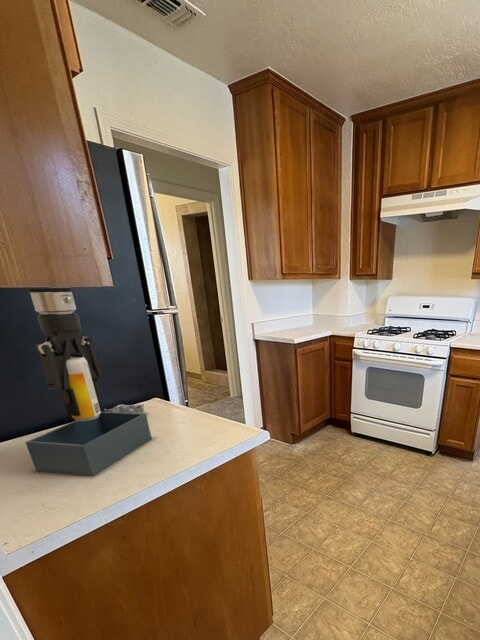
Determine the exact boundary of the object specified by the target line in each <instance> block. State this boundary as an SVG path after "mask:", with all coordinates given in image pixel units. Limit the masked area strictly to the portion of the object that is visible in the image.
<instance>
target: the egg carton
mask: <svg viewBox="0 0 480 640" xmlns="http://www.w3.org/2000/svg"><path fill="white" fill-rule="evenodd" d="M144 406H145V403H141V404H123V403H122V404H118V405H115V406H113V408H110V409H108V408H104V409H103V412H120V413H139V414H146V412H145V409H144Z"/></svg>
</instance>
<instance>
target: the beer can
mask: <svg viewBox="0 0 480 640" xmlns="http://www.w3.org/2000/svg"><path fill="white" fill-rule="evenodd" d="M66 366H67V370H68V373H69V389H73V391H74V395H75V398H76V402H77V405H78V408H79V412H80V415H79V416H71V417H72V419H74V420H75V421H76V420H77V421H88V420H92V419H95V418H98V417H99V415H100V413H101V412H102V411H101V408H100V407H99V404H98V400H97V396H96V393H95V389H94V385H93V381H92V378H91V374H90V370H89V367H88V363H87V360H86V359H85V358H84V356H83V357H72V356H70V360H67V363H66ZM62 385H63V384H62Z"/></svg>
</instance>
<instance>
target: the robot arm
mask: <svg viewBox="0 0 480 640" xmlns="http://www.w3.org/2000/svg"><path fill="white" fill-rule="evenodd" d="M28 291H29V294H30V297H31V300H32V304H33V308H34V311H35V312H37V313H39V314H38V315H37V320H38V323H39V326H40V327H39V328H40V330H41V331H42V332H43V333H44V334H45V342H43V343H41V344H35V345H34V349H35V350H36V352H37V354H38V356H39V359H40V363H41V366H42V370H43V374H44V378H45V381H46V386H47V389H49V390H55V391H57V392H58V394H59V398H60V401H61V403H62V404H64V407H65V410H66V413H67V416H71V417H72V416H79V415H80V412H79V408H78V405H77V402H76V398H75V395H74V391H73V389H69V373H68V370H67V366H66V363H67V360H70V356H72V357H83V356H84V358H85V359H86V360H87V363H88V367H89V370H90V374H91V378H92V381H93V385H94V389H95V393H96V396H97V400H98V404H99V407H102V402H101V397H100V395H99V393H100V389H99V385H98V382H99V381H100V380H101V377H102V376H103V372H102V369H101V366H100V363H99V360H98V359H99V358H98V356H97V353H96V350H95V347H94V338H93V337H92V336H83V334H82V333H81V330H82V324H81V321H80V317H79V314H78V313H76V311H77V306H76V302H75V298H74V295H73V291H72V288H71V286H70V287H46V288H29V287H28ZM62 384H63V385H62Z"/></svg>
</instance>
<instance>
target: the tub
mask: <svg viewBox="0 0 480 640" xmlns="http://www.w3.org/2000/svg"><path fill="white" fill-rule="evenodd" d="M152 439H153V438H152V434H151V429H150V425H149V422H148V416H147V413H145V414H139V413H120V412H107V411H101V413H100V415H99V417H98V418H95V419H92V420H88V421H77V420H76V419H75V420H73V421H72V422H69V423H66V424H64V425H62V426H59V427H57V428H55V429H52V430H51V431H48V432H46V433H43V434H41V435H39V436H35V437H34V438H31V439H29V440H26V441H25V445H26V448H27V451H28V454H29V455H30V458H31V460H32V463H33V466H34V468H35V471H36V472H42V473H43V472H44V473H54V474H65V475H77V476H87V477H94V476H95V475H97V474H98V473H100V472H102V471H103V470H105V469H107V468H109V467H110V466H111V465H113V464H114V463H116V462H118V461H119V460H120V459H122V458H124V457H125V456H127V455H129V454H130V453H132V452H133V451H135V450H136V449H138V448H140V447H141V446H143V445H144V444H147V442H149V441H150V440H152Z"/></svg>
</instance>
